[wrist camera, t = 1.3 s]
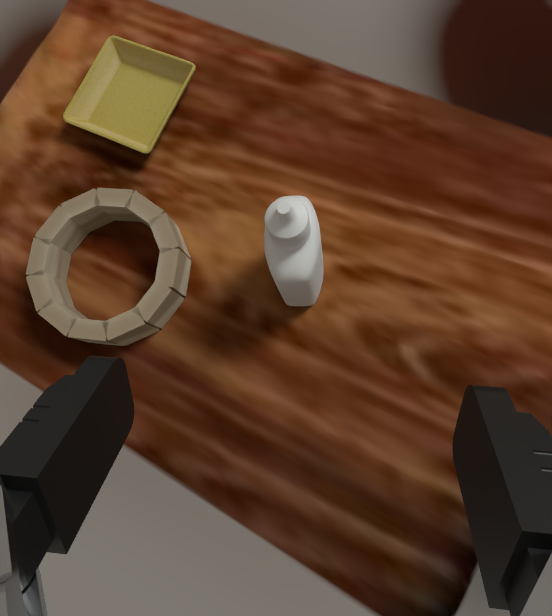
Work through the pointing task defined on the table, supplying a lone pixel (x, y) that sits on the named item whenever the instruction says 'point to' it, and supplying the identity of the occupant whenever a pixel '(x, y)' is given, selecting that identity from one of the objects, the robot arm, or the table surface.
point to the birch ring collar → (68, 236)
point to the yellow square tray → (129, 93)
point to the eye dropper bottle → (294, 249)
